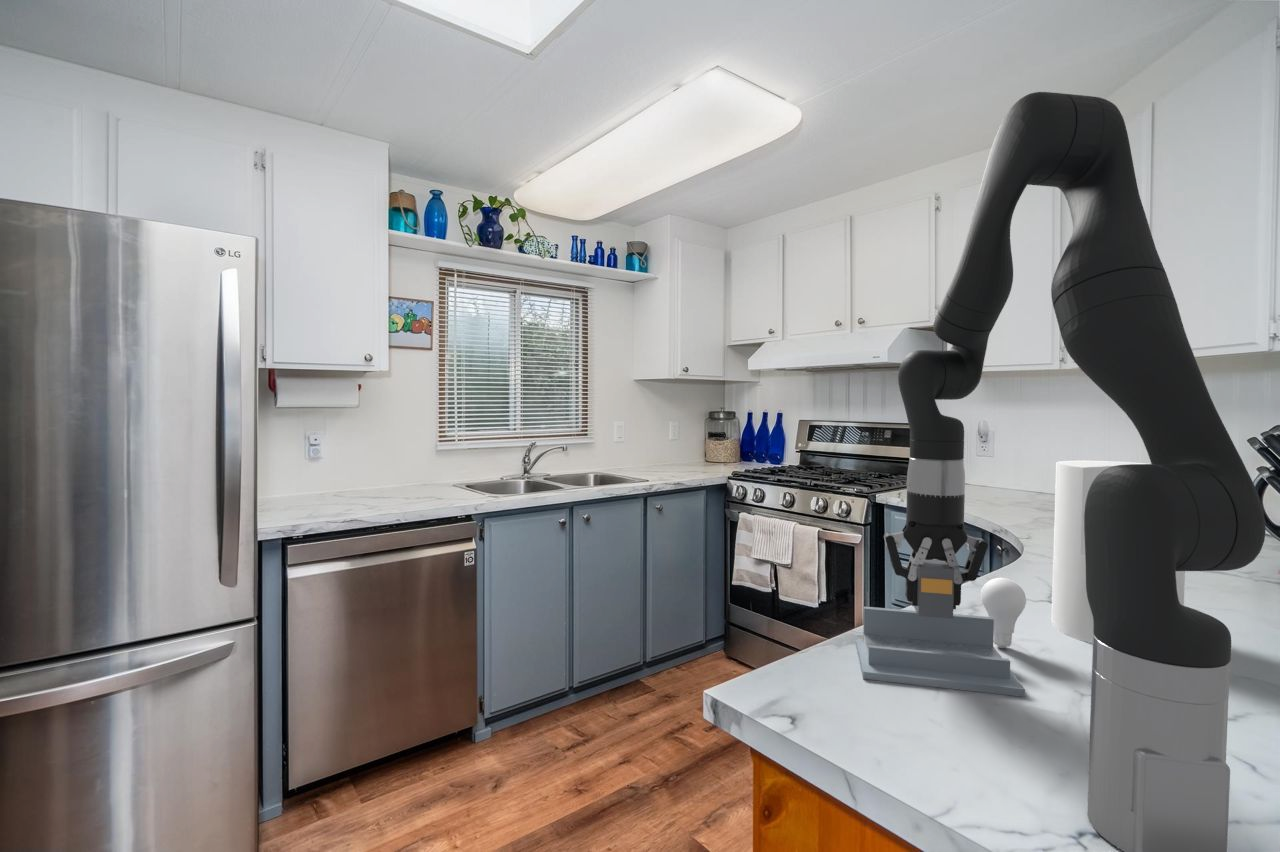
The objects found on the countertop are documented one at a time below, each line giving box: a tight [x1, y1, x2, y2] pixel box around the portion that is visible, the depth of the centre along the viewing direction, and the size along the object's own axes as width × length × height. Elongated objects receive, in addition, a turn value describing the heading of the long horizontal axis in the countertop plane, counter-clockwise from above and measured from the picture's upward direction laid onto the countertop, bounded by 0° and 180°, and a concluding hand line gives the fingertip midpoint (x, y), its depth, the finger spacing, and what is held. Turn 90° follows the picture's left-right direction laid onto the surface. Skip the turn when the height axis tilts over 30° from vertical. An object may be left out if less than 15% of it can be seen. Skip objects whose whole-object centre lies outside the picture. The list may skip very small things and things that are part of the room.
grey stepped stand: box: [855, 606, 1026, 698], centre depth 89 cm, size 12×20×6 cm, turn 75°
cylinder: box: [1050, 459, 1186, 645], centre depth 102 cm, size 17×17×28 cm
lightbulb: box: [980, 577, 1027, 649], centre depth 96 cm, size 6×6×11 cm
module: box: [913, 559, 954, 619], centre depth 89 cm, size 5×4×7 cm
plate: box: [864, 634, 1003, 659], centre depth 90 cm, size 7×18×2 cm, turn 75°
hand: (932, 605), depth 89 cm, fingers closed on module, 4 cm apart
